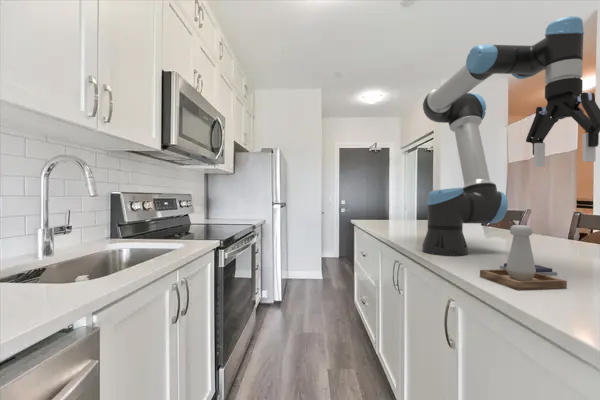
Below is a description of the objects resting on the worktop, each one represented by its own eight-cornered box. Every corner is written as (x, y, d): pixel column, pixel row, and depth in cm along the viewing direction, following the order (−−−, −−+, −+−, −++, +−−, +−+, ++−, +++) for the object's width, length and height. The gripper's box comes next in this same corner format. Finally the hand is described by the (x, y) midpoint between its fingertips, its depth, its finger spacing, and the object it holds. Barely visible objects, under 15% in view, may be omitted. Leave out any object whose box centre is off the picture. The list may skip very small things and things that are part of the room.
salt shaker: (526, 277, 80) (527, 224, 79) (541, 283, 74) (542, 226, 74) (501, 276, 80) (501, 224, 80) (514, 282, 74) (515, 226, 74)
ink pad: (499, 268, 92) (499, 262, 92) (528, 267, 93) (528, 262, 93) (525, 275, 83) (525, 270, 83) (556, 274, 84) (557, 269, 84)
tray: (479, 276, 82) (480, 269, 82) (522, 275, 84) (522, 268, 84) (517, 290, 70) (517, 282, 70) (566, 288, 72) (566, 280, 72)
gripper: (631, 62, 72) (629, 159, 72) (534, 97, 96) (534, 168, 97) (601, 60, 71) (600, 158, 71) (512, 95, 95) (511, 168, 96)
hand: (562, 164), depth 84 cm, fingers open, 13 cm apart
